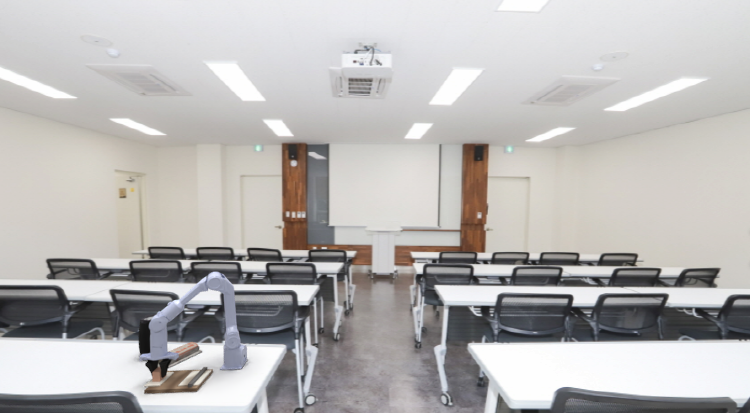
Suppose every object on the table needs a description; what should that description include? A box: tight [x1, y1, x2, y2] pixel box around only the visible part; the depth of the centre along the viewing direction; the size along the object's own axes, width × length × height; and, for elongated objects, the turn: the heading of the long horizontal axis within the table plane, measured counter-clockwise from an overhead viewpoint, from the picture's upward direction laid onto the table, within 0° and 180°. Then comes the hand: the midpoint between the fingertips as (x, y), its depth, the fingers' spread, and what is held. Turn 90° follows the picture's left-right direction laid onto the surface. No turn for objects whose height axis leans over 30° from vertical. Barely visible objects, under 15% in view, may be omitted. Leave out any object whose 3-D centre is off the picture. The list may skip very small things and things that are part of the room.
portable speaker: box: [137, 313, 156, 362], centre depth 141 cm, size 9×9×20 cm
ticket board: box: [143, 366, 214, 395], centre depth 121 cm, size 20×13×3 cm, turn 93°
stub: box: [143, 366, 174, 388], centre depth 120 cm, size 6×9×4 cm, turn 3°
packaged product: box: [158, 341, 203, 369], centre depth 139 cm, size 18×5×10 cm
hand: (159, 376), depth 120 cm, fingers closed on stub, 3 cm apart
